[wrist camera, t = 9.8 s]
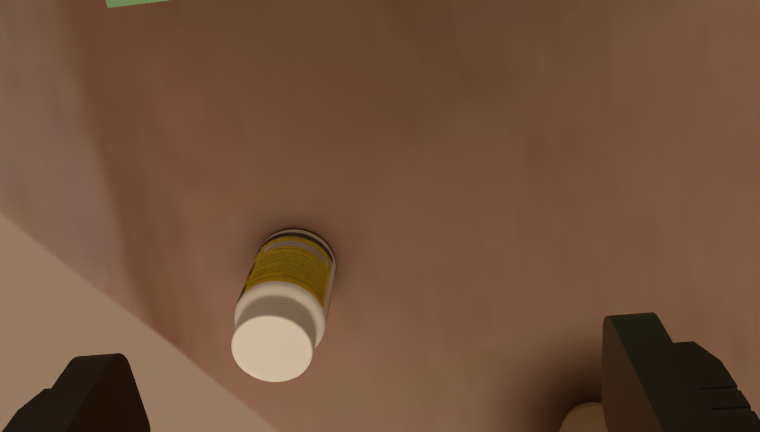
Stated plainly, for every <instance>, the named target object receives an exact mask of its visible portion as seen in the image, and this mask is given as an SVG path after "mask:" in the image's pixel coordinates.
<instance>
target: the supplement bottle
mask: <svg viewBox="0 0 760 432" xmlns="http://www.w3.org/2000/svg"><path fill="white" fill-rule="evenodd" d="M335 273H336V263H335V259H334V256H333V253H332V251H331V250H330V248H329V247H328V245H327V244H326V243H325V242H324V241H323V240H322V239H321V238H319V237H318V236H316V235H314V234H312V233H310V232H307V231H303V230H296V229H292V230H285V231H281V232H278V233H275V234H273V235H272V236H270V237H269V238H267V239H266V240H265V241H264V242H263V244H262V245H261V246H260V248H259V250H258V252H257V255H256V257H255V259H254V262H253V265H252V267H251V270H250V272H249V275H248V277H247V280H246V282H245V285H244V287H243V290H242V292H241V295H240V298H239V300H238V302H237V306H236V309H235V318H234V319H235V330H234V334H233V337H232V342H231V348H232V353H233V356H234V359H235V361H236V362H237V364H238V365H239V366H240V367H241V368H242V369H243V370H244V371H245V372H246V373H248V374H249V375H251V376H253V377H255V378H257V379H260V380H264V381H269V382H282V381H287V380H290V379H293V378H295V377H297V376H299V375H300V374H301V373H303V372H304V371H305V370H306V369H307V367H308V366H309V364H310V362H311V360H312V356H313V352H314V349H315V348H316V347H317V345H318V344H319V343H320V341H321V339H322V337H323V335H324V332H325V328H326V323H327V317H328V312H329V307H330V301H331V296H332V291H333V285H334V279H335Z"/></svg>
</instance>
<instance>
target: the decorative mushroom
mask: <svg viewBox="0 0 760 432" xmlns="http://www.w3.org/2000/svg"><path fill="white" fill-rule="evenodd" d="M559 432H608V430H607V426H606V422H605V418H604V412H603V405H602V403H597V402H588V403H582V404H580V405H578V406H576V407H574V408H573V409H572V410H571V411H570V412H569V413H568V414H567V416H566V418H565V419H564V421H563V423H562V426H561V428H560V431H559Z"/></svg>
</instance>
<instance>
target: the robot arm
mask: <svg viewBox="0 0 760 432" xmlns="http://www.w3.org/2000/svg"><path fill="white" fill-rule="evenodd" d="M602 405H603V412H604V418H605V422H606V426H607V430H608V432H760V420H759V418H758V416H757V415H756V413H755V412H754V411H751V406H750V404H749V403H748V401H747V400H746V398H745V397H744V395H743V394H742V392H741V391H740V390H739V391H738V389H737V385H736V383H735V382H734V380H733V378H732V377H731V375H730V374H729V372H728V371H727V369H726V368H725V366H724V365H723V363H722V362H721V361H720V360H719V359H717V358H716V357H715V356H713V355H712V354H710V353H709V352H708V351H706V350H705V349H704V348H702V347H701V346H699V345H698V344H697V343H695V342H694V341H692V342H679V343H673V342H672V340H671V339H670V337H669V335H668V333H667V332H666V330H665V328H664V326H663V325H662V323H661V321H660V320H659V318H658V316H657V315H656V314H655V313H653V312H652V313H639V314H626V315H614V316H606V317H605V319H604V323H603V347H602ZM2 432H150V425H149V421H148V418H147V415H146V412H145V409H144V406H143V403H142V400H141V397H140V394H139V391H138V388H137V386H136V382H135V379H134V376H133V373H132V371H131V368H130V365H129V362H128V360H127V359H126V357H125V356H124V355H123V354H120V353H117V354H105V355H91V356H79V357H75V358H73V359H72V360H71V361H70V362H69V364H68V365H67V367H66V368H65V369H64V371H63V372H62V374H61V375H60V377H59V378H58V379H57V381H56V382H55V384H54V385H53V387H52V388H50V389H44V390H43V391H41V392H40V393H39V394H38V395H36V396H35V397H34V398H33V399H32V400H30V401H29V402H28V403H27V404H25V405H24V406H23V407H22V408H20V409H19V410H18V411H17V412H16V413H15V415H14V416H13V418H12V419H11V420H10V422H9V423H8V424H7V426H6V427H5V428H4V430H3V431H2Z"/></svg>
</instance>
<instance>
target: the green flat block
mask: <svg viewBox="0 0 760 432" xmlns="http://www.w3.org/2000/svg"><path fill="white" fill-rule="evenodd" d="M160 1H168V0H106V4H107V7H108V8H111V7H119V6H128V5H136V4H144V3H152V2H160Z"/></svg>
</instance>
